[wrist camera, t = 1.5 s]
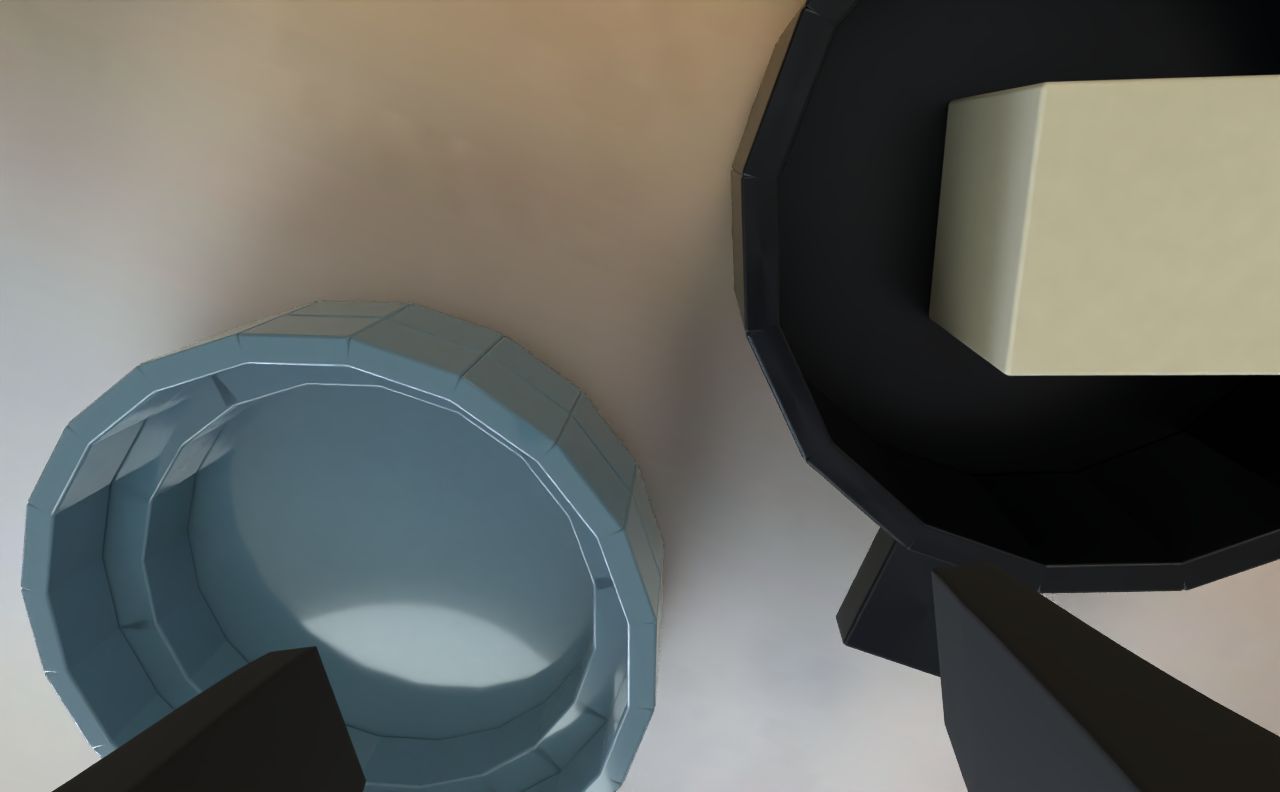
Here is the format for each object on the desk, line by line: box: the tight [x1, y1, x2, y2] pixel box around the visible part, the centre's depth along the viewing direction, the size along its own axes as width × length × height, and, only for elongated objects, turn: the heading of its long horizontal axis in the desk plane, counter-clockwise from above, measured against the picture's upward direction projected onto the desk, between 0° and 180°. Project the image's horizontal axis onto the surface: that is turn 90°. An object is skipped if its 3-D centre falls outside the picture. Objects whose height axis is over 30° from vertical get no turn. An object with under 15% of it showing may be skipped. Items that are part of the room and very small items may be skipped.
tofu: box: [929, 75, 1280, 376], centre depth 13 cm, size 4×4×4 cm
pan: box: [731, 0, 1280, 677], centre depth 14 cm, size 13×18×4 cm
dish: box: [21, 301, 664, 792], centre depth 18 cm, size 14×14×4 cm
